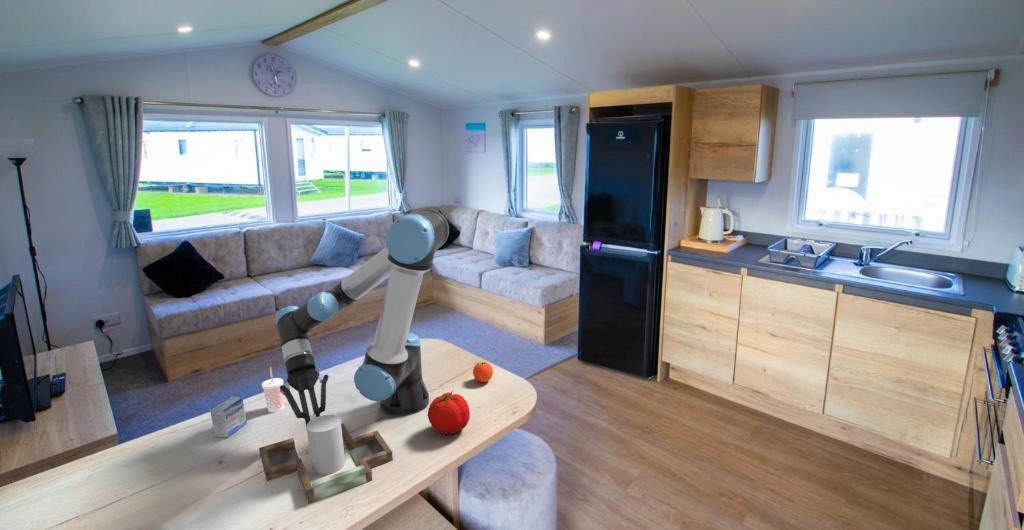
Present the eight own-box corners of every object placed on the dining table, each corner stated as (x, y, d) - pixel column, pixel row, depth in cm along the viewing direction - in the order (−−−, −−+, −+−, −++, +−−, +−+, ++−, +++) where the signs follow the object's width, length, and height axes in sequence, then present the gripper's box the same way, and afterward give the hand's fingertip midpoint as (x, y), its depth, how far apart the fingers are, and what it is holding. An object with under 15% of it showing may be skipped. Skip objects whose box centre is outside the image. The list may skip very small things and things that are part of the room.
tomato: (468, 417, 153) (467, 383, 150) (472, 439, 142) (470, 402, 139) (428, 422, 151) (426, 387, 148) (428, 444, 140) (426, 407, 137)
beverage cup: (276, 414, 156) (270, 372, 153) (260, 411, 158) (254, 370, 155) (291, 405, 162) (285, 364, 159) (275, 402, 164) (269, 362, 161)
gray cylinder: (315, 457, 135) (310, 416, 132) (347, 453, 136) (342, 413, 133) (308, 476, 127) (303, 433, 124) (342, 472, 128) (337, 430, 125)
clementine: (467, 380, 177) (466, 361, 175) (482, 373, 181) (481, 355, 180) (481, 387, 171) (481, 368, 170) (497, 381, 176) (496, 362, 174)
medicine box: (227, 438, 144) (223, 411, 142) (214, 437, 145) (209, 409, 143) (247, 423, 152) (243, 397, 150) (234, 422, 153) (229, 396, 151)
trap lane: (367, 423, 151) (366, 411, 150) (399, 470, 129) (398, 456, 128) (260, 456, 136) (258, 442, 135) (275, 515, 114) (273, 500, 113)
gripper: (321, 358, 150) (341, 436, 140) (273, 369, 143) (290, 451, 134) (323, 347, 144) (344, 428, 135) (273, 358, 138) (291, 443, 128)
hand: (317, 439), depth 134 cm, fingers closed
